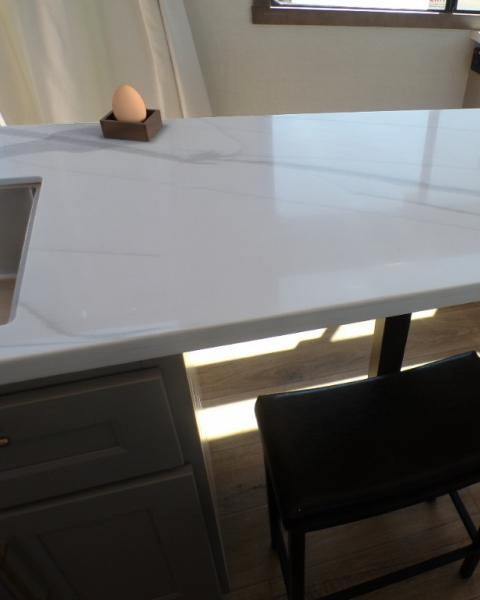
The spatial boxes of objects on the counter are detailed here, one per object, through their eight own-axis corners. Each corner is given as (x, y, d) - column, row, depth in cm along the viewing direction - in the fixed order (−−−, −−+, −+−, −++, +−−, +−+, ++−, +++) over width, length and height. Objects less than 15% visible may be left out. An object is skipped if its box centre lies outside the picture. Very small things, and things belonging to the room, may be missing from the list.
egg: (142, 135, 101) (133, 91, 96) (112, 132, 101) (101, 88, 95) (153, 125, 105) (145, 82, 100) (124, 122, 105) (115, 79, 100)
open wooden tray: (103, 137, 100) (99, 120, 98) (120, 122, 106) (116, 105, 104) (149, 141, 100) (145, 124, 98) (162, 126, 107) (159, 109, 105)
